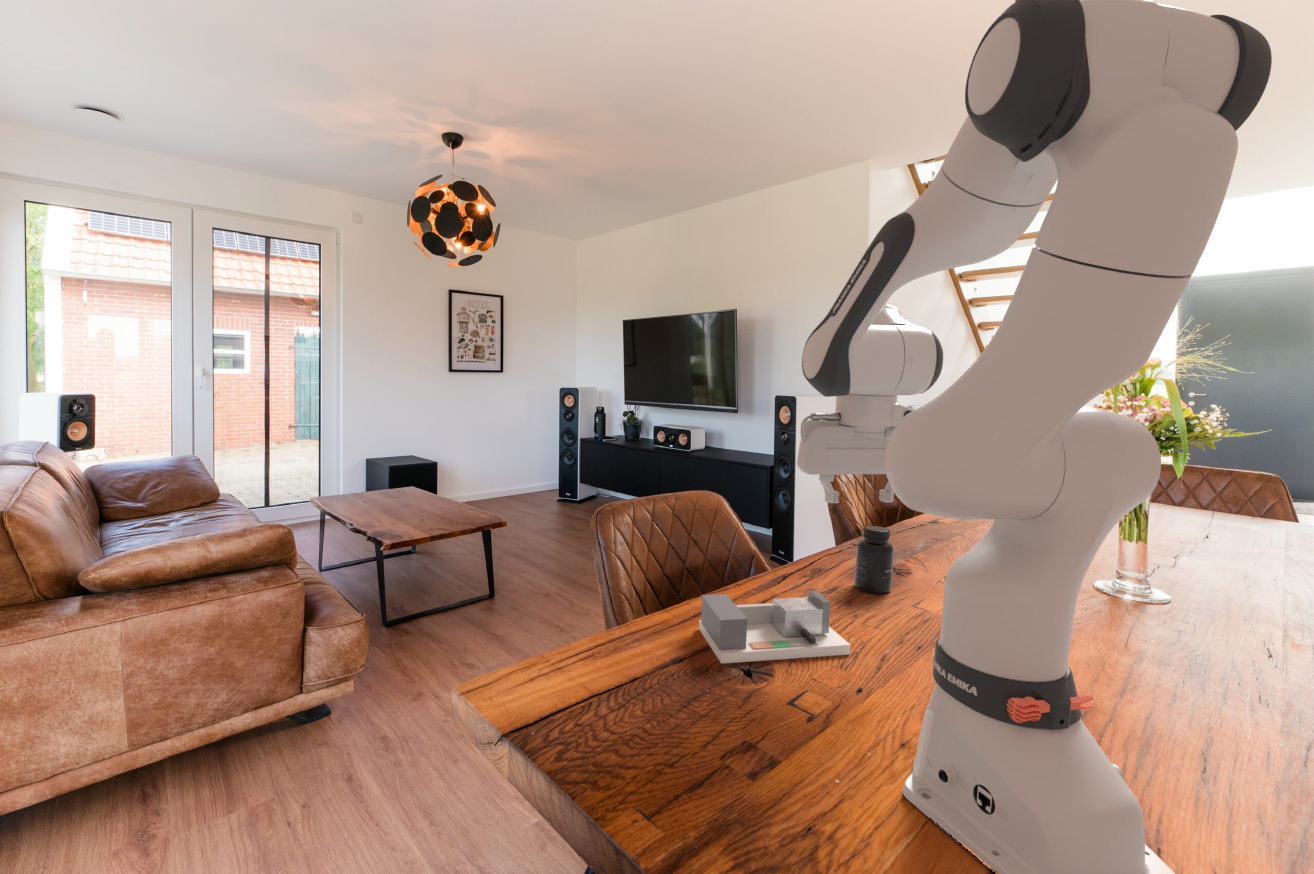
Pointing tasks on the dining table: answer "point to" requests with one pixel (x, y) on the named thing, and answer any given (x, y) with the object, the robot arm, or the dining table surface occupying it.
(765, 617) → the gauge base
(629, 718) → the dining table surface
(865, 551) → the supplement bottle
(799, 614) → the grey sliding block
